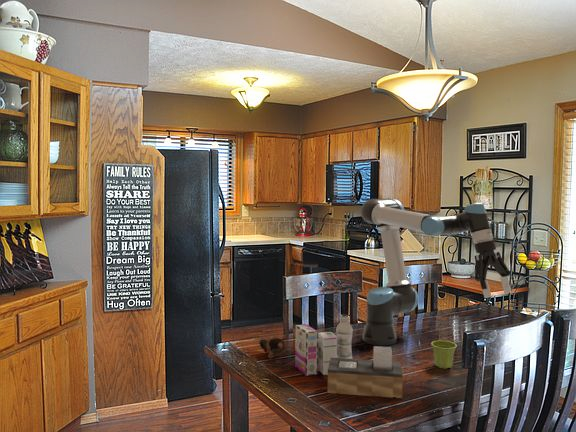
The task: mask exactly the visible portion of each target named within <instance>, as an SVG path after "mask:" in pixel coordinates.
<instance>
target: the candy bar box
mask: <svg viewBox="0 0 576 432" xmlns="http://www.w3.org/2000/svg"><path fill="white" fill-rule="evenodd" d="M294 327H295V333H294V338H295V342H294V344H295V345H294V346H295V347H294V367H295V368H296V369H297V370H299V371H300V372H301V373H302V374H303V375H304V376H305V377H309V376H316V375H318V333H319V331H318V330H316V329H315V328H313V327H311V326H310V325H309V324H306V323H303V324H296V325H294Z"/></svg>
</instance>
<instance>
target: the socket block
mask: <svg viewBox="0 0 576 432" xmlns="http://www.w3.org/2000/svg"><path fill="white" fill-rule="evenodd" d="M339 361H347V362H357V369H354V368H338V367H339ZM403 375H404V374H403V370H402V363H401V361H393V360H392V371H385V370H373V359H360V358H353V359H346V358H330V362H329V367H328V375H327V393H328V394H337V393H338V394H340V395H354V396H355V395H356V396H366V397H367V396H369V397H379V396H380V398H381V397H382V398H393V397H396V398H395V399H403V377H404V376H403Z"/></svg>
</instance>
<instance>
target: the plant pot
mask: <svg viewBox="0 0 576 432" xmlns="http://www.w3.org/2000/svg"><path fill="white" fill-rule="evenodd" d="M430 344H431V346H432V350H433V357H434V364H435V366H436V367H438V368H439V369H445V370H446V369H448V368H450V369H451V368H452V367H453V361H454V355H455V351H456V349H457V344H456V343H455V342H452V341H449V340H434V341H432V342H431V343H430Z"/></svg>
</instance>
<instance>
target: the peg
mask: <svg viewBox="0 0 576 432" xmlns="http://www.w3.org/2000/svg"><path fill="white" fill-rule="evenodd" d="M372 360H373V370H385V371H392V361H393V349H392V347H391V346H379V345H373V359H372Z"/></svg>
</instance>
